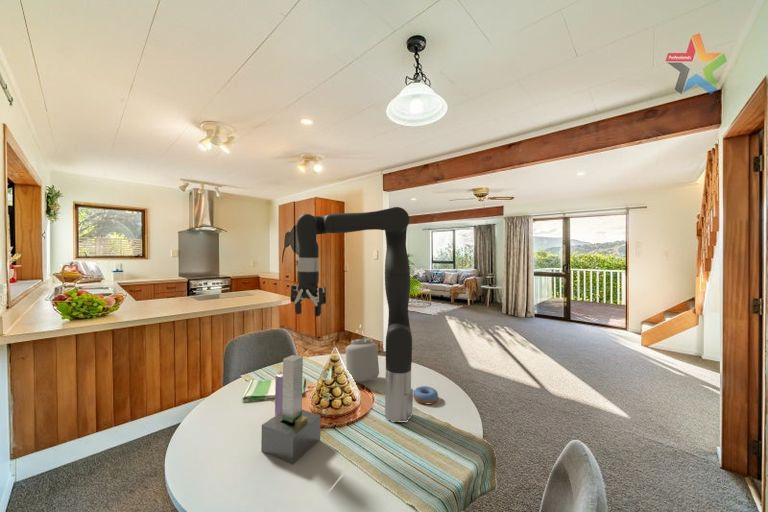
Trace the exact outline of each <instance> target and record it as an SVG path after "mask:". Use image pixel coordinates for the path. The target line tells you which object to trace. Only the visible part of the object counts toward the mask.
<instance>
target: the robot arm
mask: <svg viewBox="0 0 768 512" xmlns="http://www.w3.org/2000/svg"><path fill="white" fill-rule="evenodd" d="M409 223H410V215H409V213H408V211H406V209H405V208H402V207H399V206H394V207H393V206H392V207H389V208H385V209H381V210H380V209H379V210H375V211H367V212H365V211H364V212H343V213H341V212H340V213H329V214H326V215H318V216H317V215H312V214H310V213H304V214H301V215H300V216H299V217H298V219H297V221H296V234H297V235H296V237H297V241H298V259H297V260H298V261H297V277H296V278H297V282H296V283H297V284H295V285H291V287H290V302H293V303H294V304H295V305H294V311H295V314H296V315H300V314H302V302H303V300H304V299H308V300H309V299H310V300H311V301H312V302H313V304H314V317H320V316H321V314H322V305H325V304H326V303H327V291H326V290H327V288H326V287H325V286H322V287H319V282H320V263H319V262H320V261H319V255H320V253H319V250H320V249H319V244H318V242H317V235H323V234H343V233H344V234H345V233H346V234H347V233H354V232H361V231H372V230H373V231H374V230H378V231H380V230H381V231H384V232H385V242H386V253H385V261H384V287H385V296H386V301H387V306H388V320H387V329H386V336H385V391H384V392H385V393H384V394H385V396H384V401H385V402H384V405H385V406H384V417H385V416H386V417H385V419H386V418H387V419H389V420H392V421H407V420H408V418H409V417H410V416H411V414H412V415H413V403H414V402H413V401H414V397H413V393H414V390H413V388H412V364H413V363H412V362H413V359H412V358H413V334H412V329H411V326H410V324H411V323H410V317H409V303H410V302H409V301H410V294H411V270H410V261H409V258H408V251H407V231H408V226H409ZM411 417H412V416H411ZM387 419H386V420H387ZM389 420H388V421H389Z"/></svg>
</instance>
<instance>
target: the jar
mask: <svg viewBox="0 0 768 512" xmlns="http://www.w3.org/2000/svg"><path fill="white" fill-rule="evenodd" d="M361 326H362V324H360V325H359V328H361ZM356 332H358V330H357V329H356ZM361 332H362V333H361V334H362V335H364V333H363V332H364V331H361ZM350 343H351V344H348V345H347V346H346V348H345V358H346V360H345V361H346V371H347V370H348V371H349V373H350V374H351V375H352V377H353V379H354V380H355V381H356V382H357V383H359V382H361V383H362V382H368V381H372V380H375V379H377V378H378V377H379V375H380V367H379V354H378V346H377V343H375V342H373V341H371V338H359V339H352V340H350ZM355 381H354V382H355Z"/></svg>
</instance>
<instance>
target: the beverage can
mask: <svg viewBox="0 0 768 512" xmlns="http://www.w3.org/2000/svg"><path fill="white" fill-rule="evenodd" d="M274 380H275V399H274V417H275V416H277V415H278V414H280V413H281V412H282V402H283V370H281V371H278V372H276V374H275V379H274Z"/></svg>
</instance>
